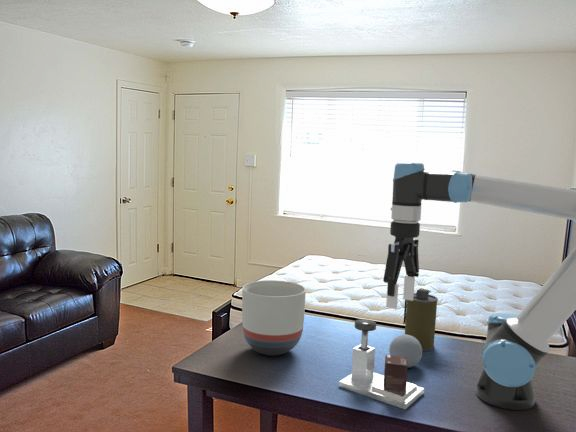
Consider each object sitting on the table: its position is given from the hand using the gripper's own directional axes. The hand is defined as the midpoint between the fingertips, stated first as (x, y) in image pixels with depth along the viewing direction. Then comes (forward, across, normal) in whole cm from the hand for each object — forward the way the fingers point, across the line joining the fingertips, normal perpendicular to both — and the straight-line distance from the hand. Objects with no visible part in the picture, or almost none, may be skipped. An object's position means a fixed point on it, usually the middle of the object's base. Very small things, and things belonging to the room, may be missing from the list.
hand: (400, 303), depth 137 cm
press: (+26, 0, -4) cm, 26 cm away
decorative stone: (+26, -20, -6) cm, 33 cm away
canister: (+26, -40, -10) cm, 49 cm away
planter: (+26, -1, -44) cm, 51 cm away
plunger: (+21, 0, -10) cm, 23 cm away
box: (+23, 0, 0) cm, 23 cm away
